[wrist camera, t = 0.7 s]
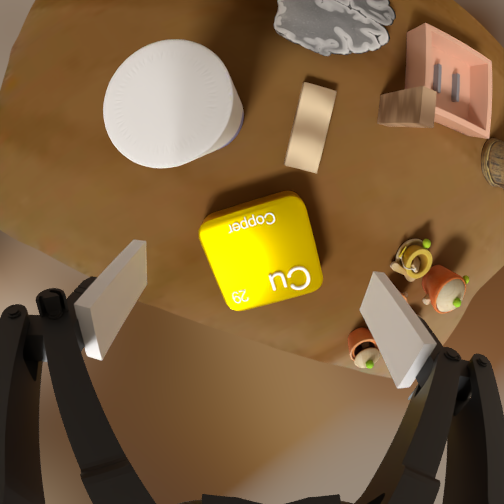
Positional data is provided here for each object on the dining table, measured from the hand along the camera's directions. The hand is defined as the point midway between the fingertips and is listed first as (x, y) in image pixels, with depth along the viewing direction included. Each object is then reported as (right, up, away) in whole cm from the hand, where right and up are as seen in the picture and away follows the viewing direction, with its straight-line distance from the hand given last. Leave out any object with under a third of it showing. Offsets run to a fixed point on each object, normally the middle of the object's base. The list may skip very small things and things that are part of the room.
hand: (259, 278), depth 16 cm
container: (-7, +20, +20) cm, 29 cm away
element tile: (+1, +2, +28) cm, 28 cm away
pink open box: (+30, +28, +16) cm, 44 cm away
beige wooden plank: (+7, +19, +21) cm, 29 cm away
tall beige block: (+19, +22, +19) cm, 35 cm away
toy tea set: (+27, -8, +32) cm, 43 cm away
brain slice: (+11, +37, +13) cm, 41 cm away
